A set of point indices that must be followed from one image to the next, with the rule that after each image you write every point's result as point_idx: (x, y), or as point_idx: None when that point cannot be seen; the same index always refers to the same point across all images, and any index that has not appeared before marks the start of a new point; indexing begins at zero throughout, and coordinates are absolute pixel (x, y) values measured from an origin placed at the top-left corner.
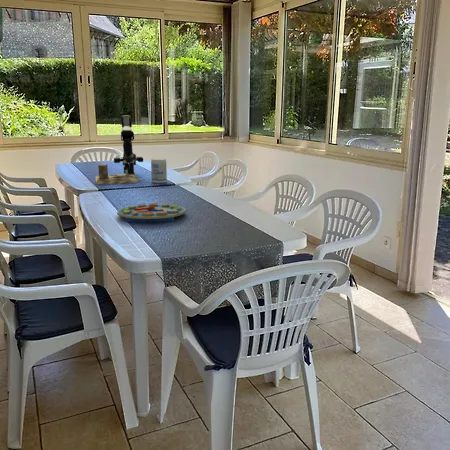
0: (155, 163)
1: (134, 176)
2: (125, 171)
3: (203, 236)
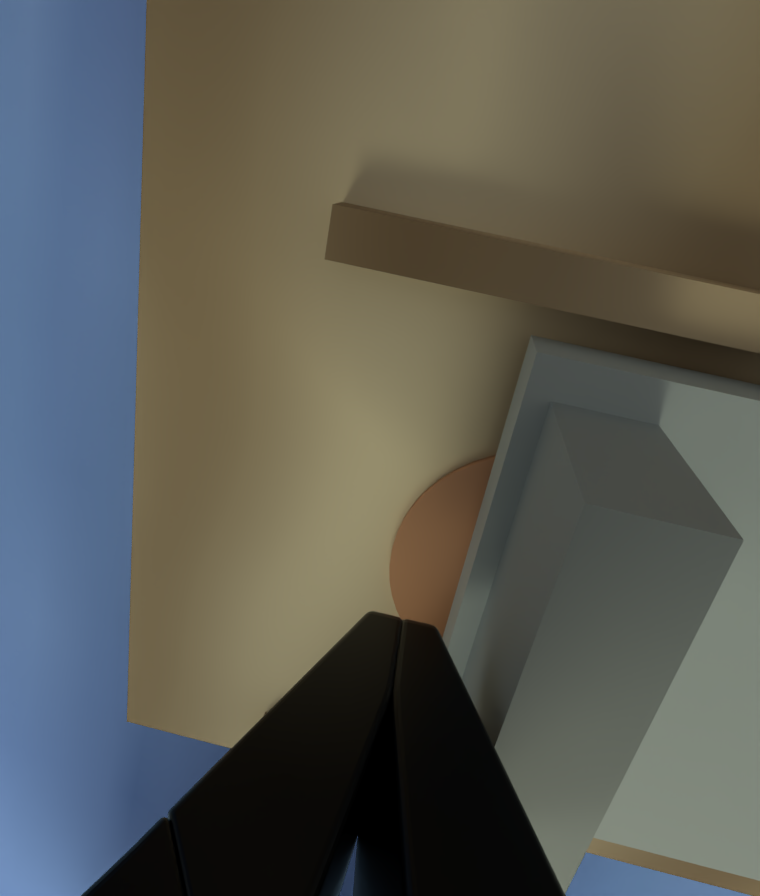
0: None
1: (228, 323)
2: None
3: None
